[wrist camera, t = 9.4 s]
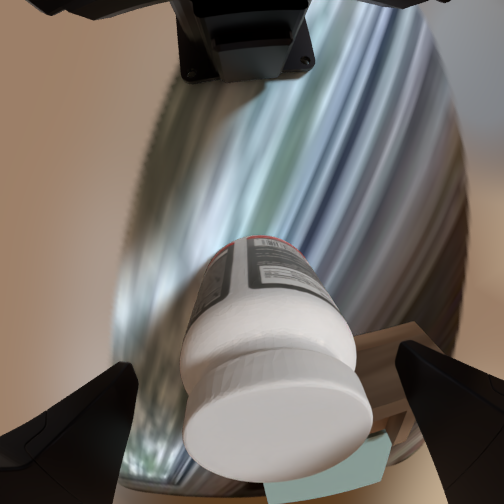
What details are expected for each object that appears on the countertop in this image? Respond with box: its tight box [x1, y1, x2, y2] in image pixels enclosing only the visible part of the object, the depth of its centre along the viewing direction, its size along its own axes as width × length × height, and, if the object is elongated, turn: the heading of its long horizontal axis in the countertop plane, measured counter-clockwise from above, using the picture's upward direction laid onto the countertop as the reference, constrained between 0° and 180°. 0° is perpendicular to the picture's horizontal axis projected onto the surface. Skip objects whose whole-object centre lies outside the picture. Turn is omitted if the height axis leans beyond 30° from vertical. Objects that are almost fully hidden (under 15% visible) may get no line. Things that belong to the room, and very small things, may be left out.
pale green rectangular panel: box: [263, 429, 392, 504], centre depth 19 cm, size 1×12×9 cm
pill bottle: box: [180, 235, 373, 483], centre depth 10 cm, size 6×6×10 cm
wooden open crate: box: [353, 321, 444, 446], centre depth 15 cm, size 10×12×6 cm
